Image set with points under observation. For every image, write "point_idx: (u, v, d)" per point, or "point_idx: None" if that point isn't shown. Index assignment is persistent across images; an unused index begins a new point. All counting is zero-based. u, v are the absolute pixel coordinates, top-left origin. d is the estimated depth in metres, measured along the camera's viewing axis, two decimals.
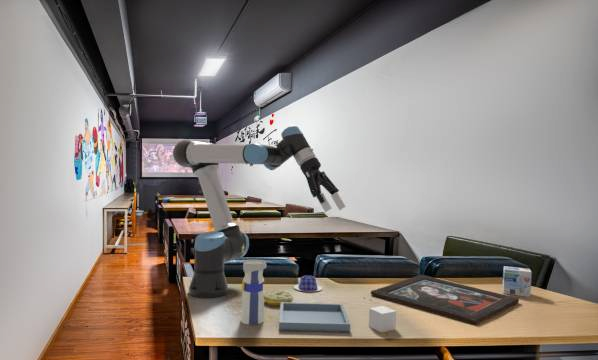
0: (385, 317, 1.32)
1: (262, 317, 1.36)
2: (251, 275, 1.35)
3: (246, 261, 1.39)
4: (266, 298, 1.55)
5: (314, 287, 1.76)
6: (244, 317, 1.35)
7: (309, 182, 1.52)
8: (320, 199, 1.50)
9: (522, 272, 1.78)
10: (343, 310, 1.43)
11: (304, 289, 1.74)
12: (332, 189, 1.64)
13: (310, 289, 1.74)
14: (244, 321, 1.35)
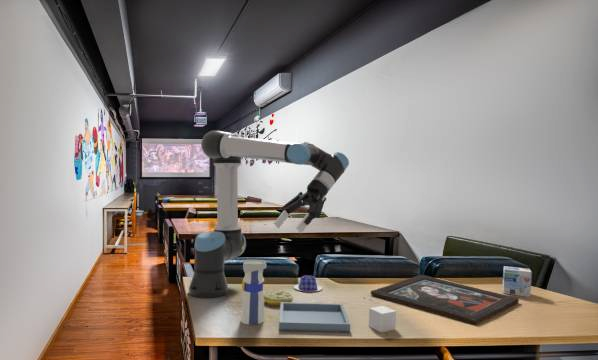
0: (385, 317, 1.32)
1: (262, 317, 1.36)
2: (251, 275, 1.35)
3: (246, 261, 1.39)
4: (266, 298, 1.55)
5: (314, 287, 1.76)
6: (244, 317, 1.35)
7: (320, 204, 1.48)
8: (309, 221, 1.45)
9: (522, 272, 1.78)
10: (343, 310, 1.43)
11: (305, 289, 1.74)
12: (291, 210, 1.58)
13: (310, 289, 1.74)
14: (244, 321, 1.35)
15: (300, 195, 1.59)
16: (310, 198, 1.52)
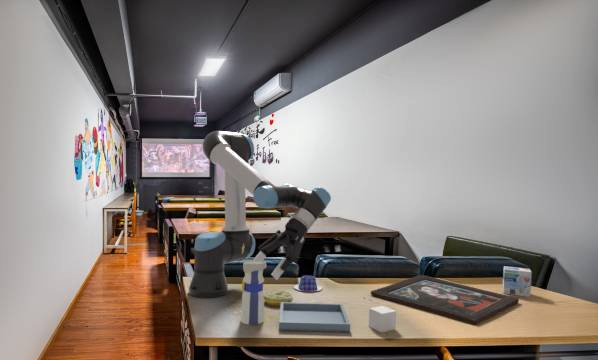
0: (385, 317, 1.32)
1: (262, 317, 1.36)
2: (251, 275, 1.35)
3: (246, 261, 1.39)
4: (266, 298, 1.55)
5: (314, 287, 1.76)
6: (244, 317, 1.35)
7: (297, 247, 1.36)
8: (285, 266, 1.33)
9: (522, 272, 1.78)
10: (343, 310, 1.43)
11: (305, 289, 1.74)
12: (268, 251, 1.46)
13: (311, 289, 1.74)
14: (244, 321, 1.35)
15: (278, 234, 1.48)
16: (288, 239, 1.40)
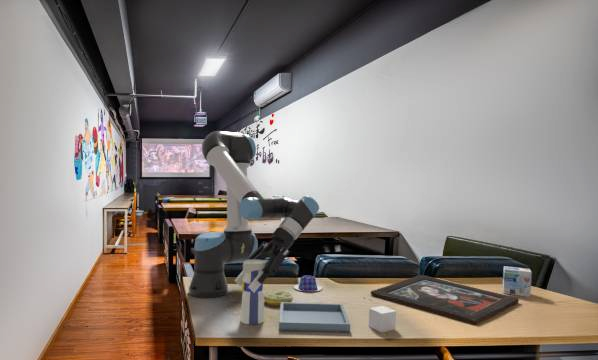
0: (385, 317, 1.32)
1: (262, 317, 1.36)
2: (251, 275, 1.35)
3: (246, 261, 1.40)
4: (266, 298, 1.55)
5: (315, 287, 1.76)
6: (244, 317, 1.35)
7: (278, 260, 1.35)
8: (262, 279, 1.33)
9: (522, 272, 1.78)
10: (343, 310, 1.43)
11: (306, 289, 1.74)
12: None
13: (311, 289, 1.75)
14: (244, 321, 1.35)
15: (264, 245, 1.45)
16: (272, 250, 1.39)
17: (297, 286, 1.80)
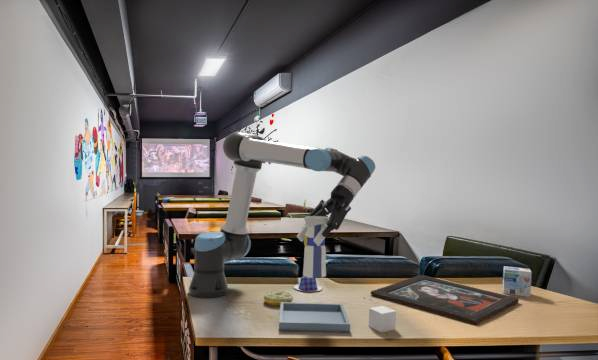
0: (385, 317, 1.32)
1: (325, 271, 1.38)
2: (314, 229, 1.37)
3: (307, 217, 1.42)
4: (266, 298, 1.55)
5: (315, 286, 1.76)
6: (307, 271, 1.37)
7: (341, 214, 1.37)
8: (327, 233, 1.35)
9: (522, 272, 1.78)
10: (343, 310, 1.43)
11: (307, 289, 1.74)
12: None
13: (312, 289, 1.75)
14: (308, 275, 1.37)
15: (323, 203, 1.47)
16: (333, 206, 1.41)
17: (297, 286, 1.79)
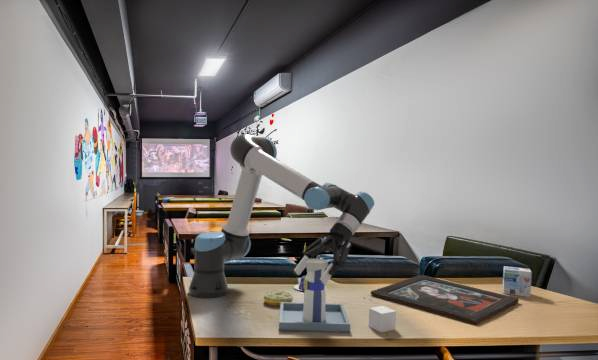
0: (385, 317, 1.32)
1: (324, 315, 1.39)
2: (314, 274, 1.37)
3: (307, 260, 1.42)
4: (266, 298, 1.55)
5: None
6: (307, 315, 1.37)
7: (345, 252, 1.37)
8: (333, 271, 1.34)
9: (522, 272, 1.78)
10: (343, 310, 1.43)
11: None
12: (312, 255, 1.47)
13: None
14: (307, 319, 1.37)
15: (322, 238, 1.48)
16: (334, 244, 1.41)
17: (296, 287, 1.79)
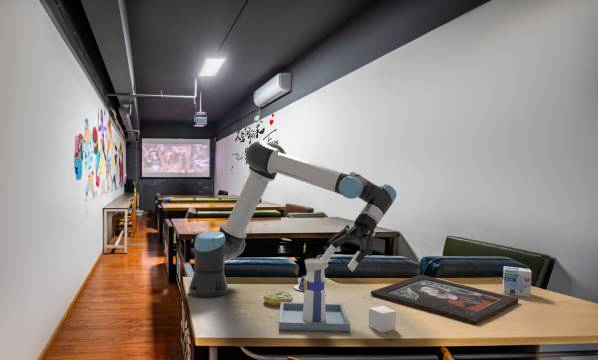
0: (385, 317, 1.32)
1: (324, 315, 1.39)
2: (314, 274, 1.37)
3: (307, 260, 1.42)
4: (266, 298, 1.55)
5: None
6: (307, 315, 1.37)
7: (371, 240, 1.44)
8: (360, 258, 1.41)
9: (522, 272, 1.78)
10: (343, 310, 1.43)
11: None
12: (338, 245, 1.54)
13: None
14: (307, 319, 1.37)
15: (347, 229, 1.55)
16: (359, 233, 1.48)
17: (296, 287, 1.78)
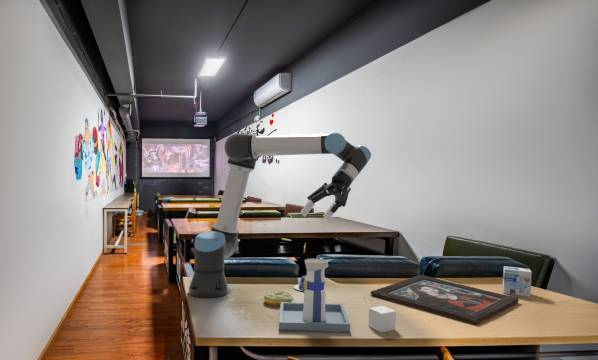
0: (385, 317, 1.32)
1: (324, 315, 1.39)
2: (314, 274, 1.37)
3: (307, 260, 1.42)
4: (266, 298, 1.55)
5: None
6: (307, 315, 1.37)
7: (345, 193, 1.56)
8: (335, 209, 1.53)
9: (522, 272, 1.78)
10: (343, 310, 1.43)
11: None
12: (316, 200, 1.67)
13: None
14: (307, 319, 1.37)
15: (325, 186, 1.68)
16: (335, 188, 1.61)
17: (296, 287, 1.78)
